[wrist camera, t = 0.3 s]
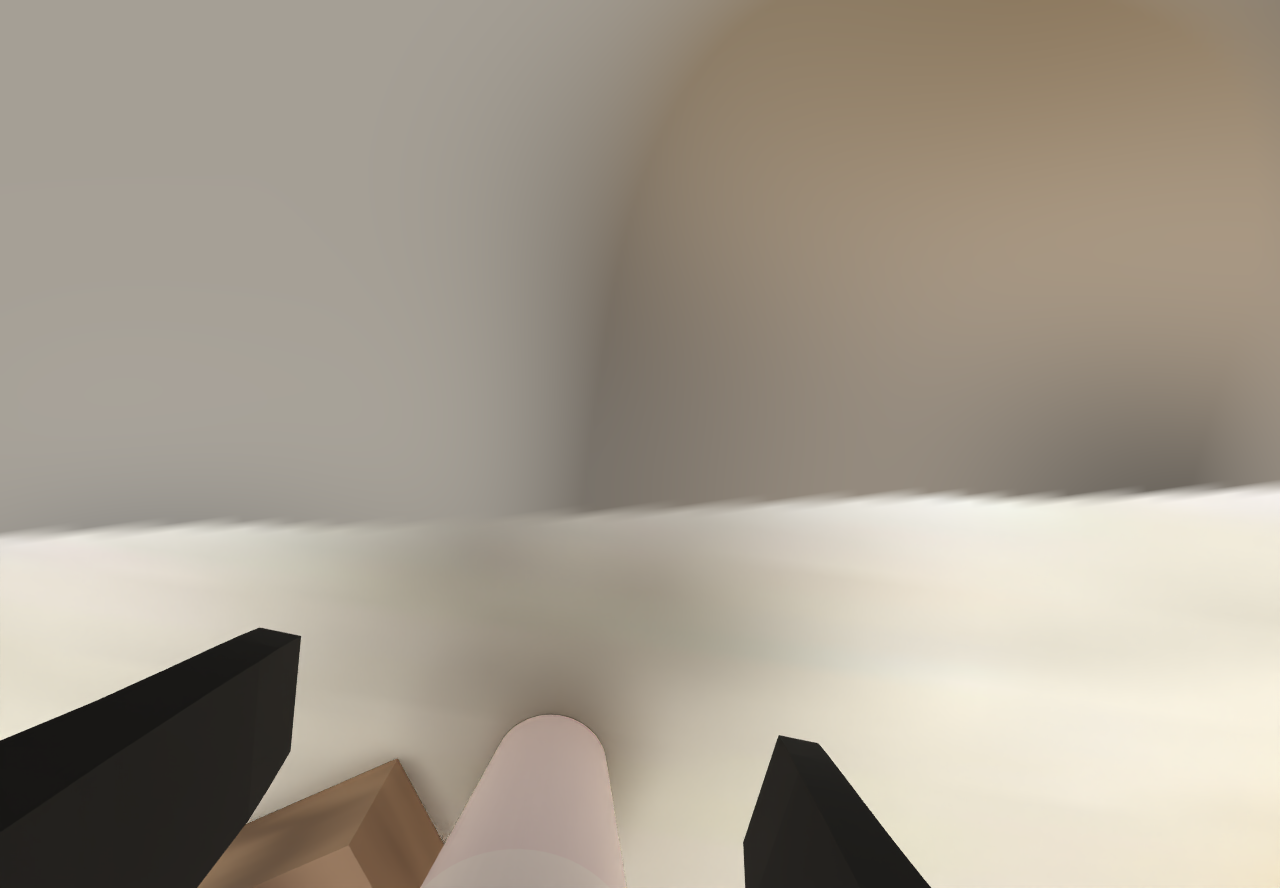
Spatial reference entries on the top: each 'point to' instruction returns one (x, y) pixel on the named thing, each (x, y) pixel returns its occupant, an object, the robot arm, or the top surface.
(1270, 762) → the top surface
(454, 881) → the smoothie
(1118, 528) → the top surface
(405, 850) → the walnut block
